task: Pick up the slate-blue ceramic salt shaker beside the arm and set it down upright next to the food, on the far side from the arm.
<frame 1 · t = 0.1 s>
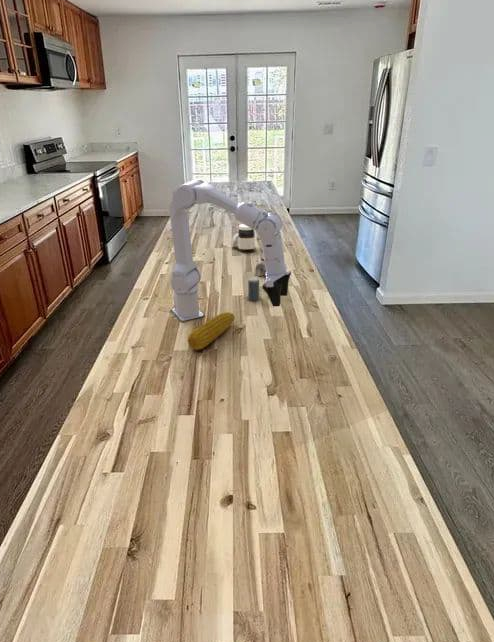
hand: (280, 300, 130), 11 cm above the countertop, tool pointing down, fingers open, 7 cm apart
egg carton: (268, 273, 177), on the countertop
shaker: (253, 298, 156), on the countertop
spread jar: (242, 249, 205), on the countertop
food: (212, 337, 132), on the countertop
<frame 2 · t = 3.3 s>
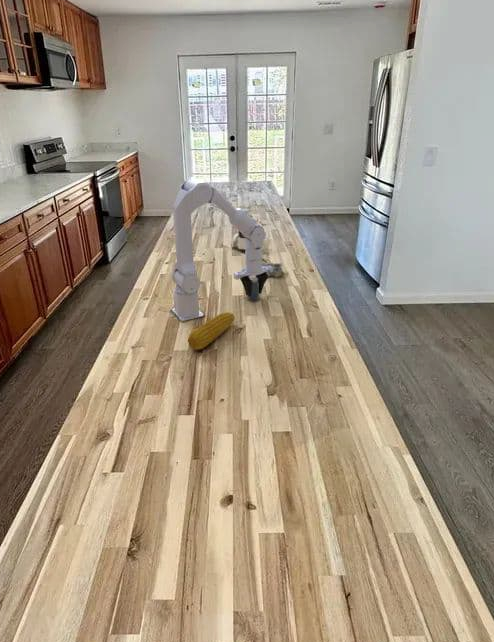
hand: (253, 294, 155), 2 cm above the countertop, tool pointing down, fingers closed on shaker, 4 cm apart
shaker: (253, 298, 156), on the countertop, touching gripper
everything else where it was.
when the fingers open (2 cm above the countertop, at t = 9.8 s): shaker stays where it is, on the countertop.
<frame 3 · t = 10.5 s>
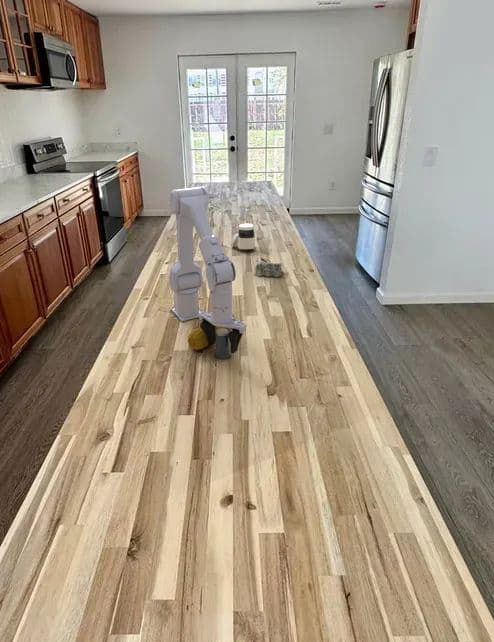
hand: (222, 347, 122), 2 cm above the countertop, tool pointing down, fingers open, 7 cm apart
shaker: (223, 355, 123), on the countertop
everything else where it was.
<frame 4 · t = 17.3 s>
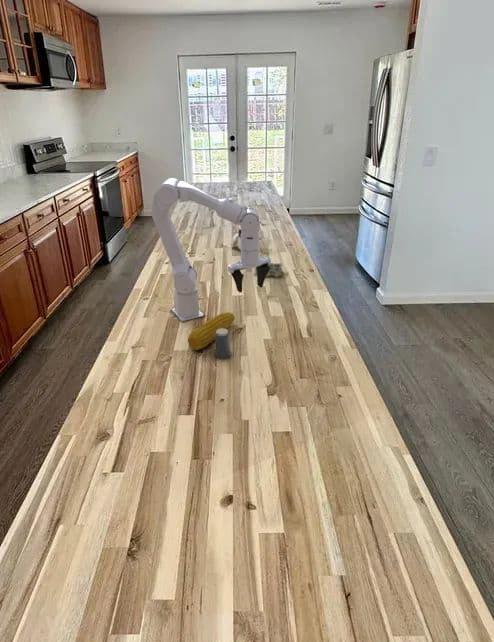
hand: (249, 288, 141), 9 cm above the countertop, tool pointing down, fingers open, 7 cm apart
nothing on the countertop moved.
at the end: shaker inside the target area on the countertop beside the food (1.0 cm from its centre), on the countertop; shaker tilted 0°; the gripper is holding nothing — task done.
